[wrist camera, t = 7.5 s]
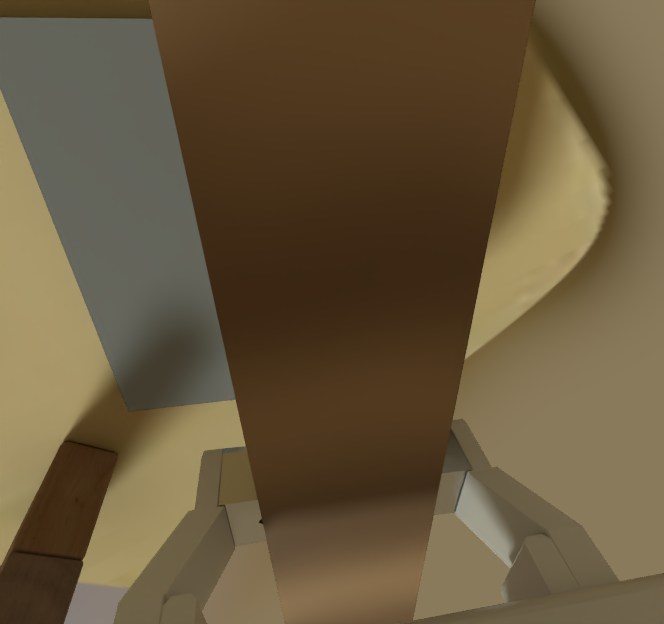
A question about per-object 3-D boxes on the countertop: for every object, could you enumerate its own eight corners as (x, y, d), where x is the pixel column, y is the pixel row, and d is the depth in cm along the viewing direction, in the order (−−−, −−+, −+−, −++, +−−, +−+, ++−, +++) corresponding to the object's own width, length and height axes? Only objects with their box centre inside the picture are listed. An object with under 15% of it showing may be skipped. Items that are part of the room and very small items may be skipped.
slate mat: (-16, 18, 15) (-29, 17, 14) (355, 21, 17) (359, 20, 16) (131, 402, 26) (128, 411, 25) (345, 378, 28) (348, 386, 27)
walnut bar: (195, 10, 7) (143, -23, 4) (415, 5, 8) (540, -28, 4) (290, 567, 18) (298, 684, 15) (378, 552, 19) (404, 662, 15)
